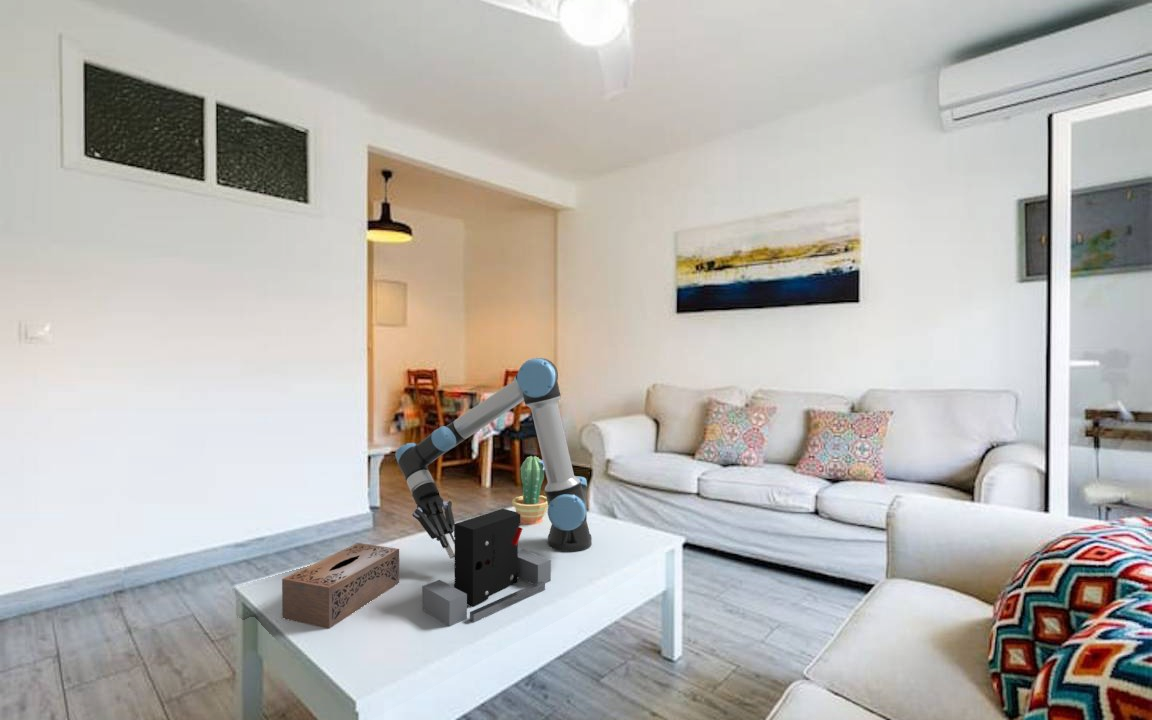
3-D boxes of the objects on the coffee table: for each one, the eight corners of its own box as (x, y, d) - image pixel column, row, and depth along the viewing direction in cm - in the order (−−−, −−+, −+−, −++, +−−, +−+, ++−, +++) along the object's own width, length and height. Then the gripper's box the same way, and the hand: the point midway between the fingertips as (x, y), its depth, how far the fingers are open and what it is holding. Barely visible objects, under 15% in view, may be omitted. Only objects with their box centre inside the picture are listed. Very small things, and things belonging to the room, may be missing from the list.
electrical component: (497, 574, 153) (497, 507, 153) (522, 584, 147) (522, 513, 147) (449, 596, 139) (449, 522, 139) (474, 608, 133) (474, 530, 133)
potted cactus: (536, 529, 192) (536, 462, 192) (503, 522, 200) (503, 457, 200) (558, 518, 206) (558, 455, 205) (526, 512, 214) (527, 451, 213)
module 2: (522, 569, 157) (522, 549, 157) (550, 580, 149) (550, 560, 149) (510, 574, 153) (510, 553, 153) (538, 586, 145) (538, 565, 145)
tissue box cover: (329, 629, 123) (329, 587, 122) (282, 619, 127) (282, 578, 127) (399, 584, 147) (399, 548, 147) (357, 576, 152) (357, 542, 151)
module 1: (439, 602, 136) (439, 579, 136) (466, 618, 127) (466, 594, 127) (422, 609, 132) (422, 585, 132) (449, 626, 124) (449, 601, 124)
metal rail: (541, 587, 144) (541, 580, 144) (545, 589, 143) (545, 582, 143) (469, 620, 127) (469, 612, 127) (473, 622, 126) (473, 614, 126)
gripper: (436, 491, 169) (467, 556, 158) (399, 499, 159) (429, 569, 148) (446, 477, 165) (478, 543, 154) (408, 485, 155) (440, 555, 144)
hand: (454, 555), depth 151 cm, fingers closed
